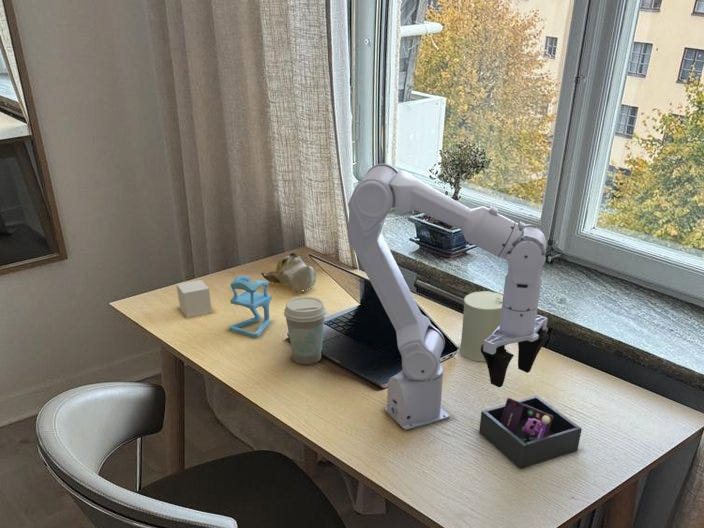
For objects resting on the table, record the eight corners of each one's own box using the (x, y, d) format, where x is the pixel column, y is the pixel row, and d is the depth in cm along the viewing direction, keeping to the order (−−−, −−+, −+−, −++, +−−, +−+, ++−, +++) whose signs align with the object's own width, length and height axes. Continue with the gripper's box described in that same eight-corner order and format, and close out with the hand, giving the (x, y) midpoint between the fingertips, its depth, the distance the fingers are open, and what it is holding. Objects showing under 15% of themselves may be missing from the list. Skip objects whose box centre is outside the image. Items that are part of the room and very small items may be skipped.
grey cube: (179, 308, 184) (176, 284, 180) (204, 303, 186) (201, 279, 182) (187, 317, 179) (183, 293, 176) (212, 312, 181) (209, 288, 178)
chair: (278, 324, 176) (275, 273, 168) (256, 338, 170) (251, 286, 163) (251, 317, 179) (247, 266, 172) (228, 330, 173) (223, 279, 166)
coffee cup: (280, 363, 160) (276, 309, 153) (297, 346, 167) (294, 293, 160) (317, 370, 158) (315, 315, 151) (334, 352, 164) (332, 298, 157)
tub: (520, 468, 129) (523, 446, 126) (478, 432, 138) (481, 410, 135) (577, 451, 133) (582, 428, 130) (533, 417, 142) (537, 395, 139)
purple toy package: (505, 397, 134) (550, 416, 128) (520, 396, 137) (564, 414, 132) (494, 434, 136) (537, 454, 131) (509, 431, 140) (552, 450, 135)
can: (502, 363, 159) (509, 308, 152) (457, 359, 161) (462, 305, 154) (504, 343, 166) (510, 290, 159) (461, 340, 168) (465, 287, 161)
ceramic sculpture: (289, 264, 181) (256, 250, 191) (292, 300, 186) (260, 285, 196) (326, 255, 186) (292, 242, 196) (328, 290, 191) (295, 275, 201)
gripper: (511, 325, 121) (501, 400, 129) (566, 299, 128) (554, 371, 137) (476, 311, 125) (469, 385, 133) (532, 287, 133) (522, 358, 141)
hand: (510, 377), depth 135 cm, fingers open, 7 cm apart
